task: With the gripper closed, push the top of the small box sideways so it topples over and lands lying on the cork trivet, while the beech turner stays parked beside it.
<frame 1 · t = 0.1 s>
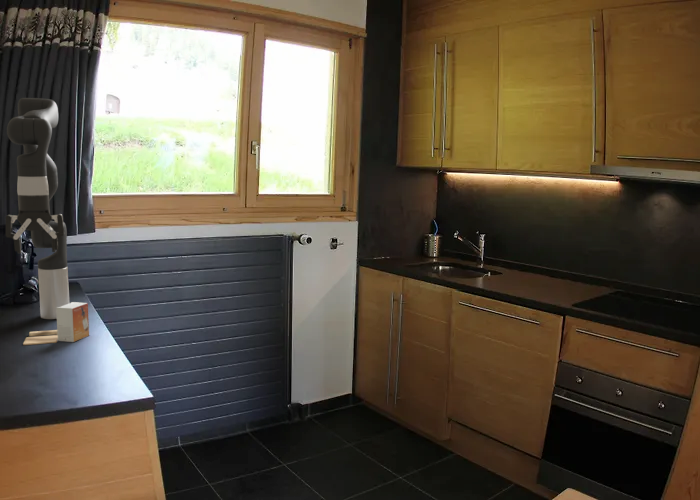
hand: (36, 252, 171), 29 cm above the counter, fingers open, 8 cm apart
small box: (73, 339, 192), on the counter
turner: (52, 333, 196), on the counter
trivet: (41, 340, 189), on the counter
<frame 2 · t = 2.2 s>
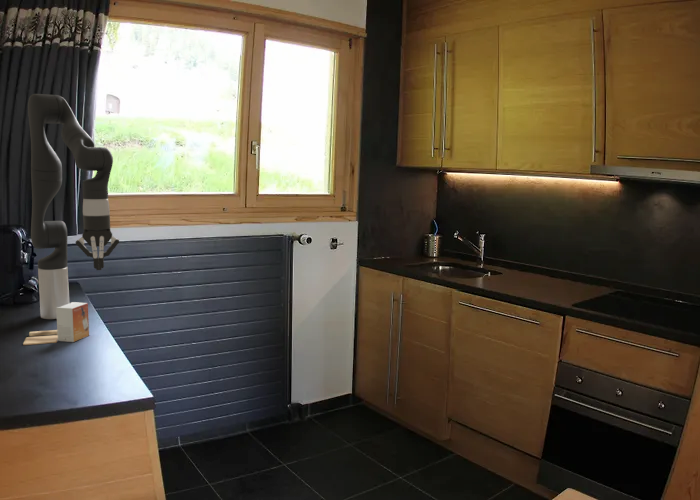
hand: (98, 269, 192), 21 cm above the counter, fingers closed
nothing on the counter moved.
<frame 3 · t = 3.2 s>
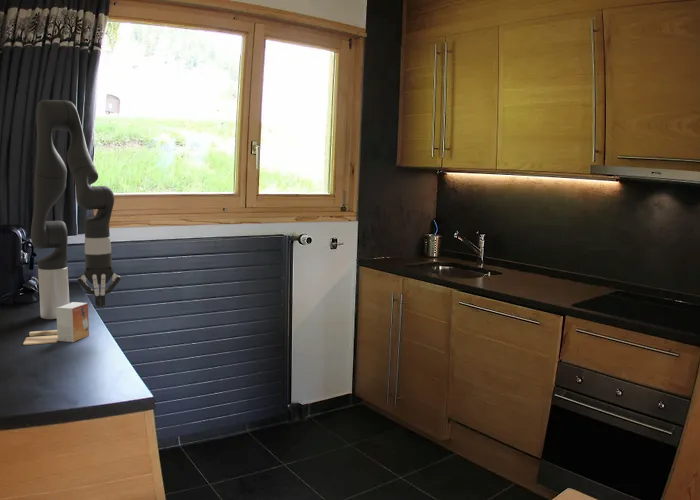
hand: (100, 306, 193), 9 cm above the counter, fingers closed
nothing on the counter moved.
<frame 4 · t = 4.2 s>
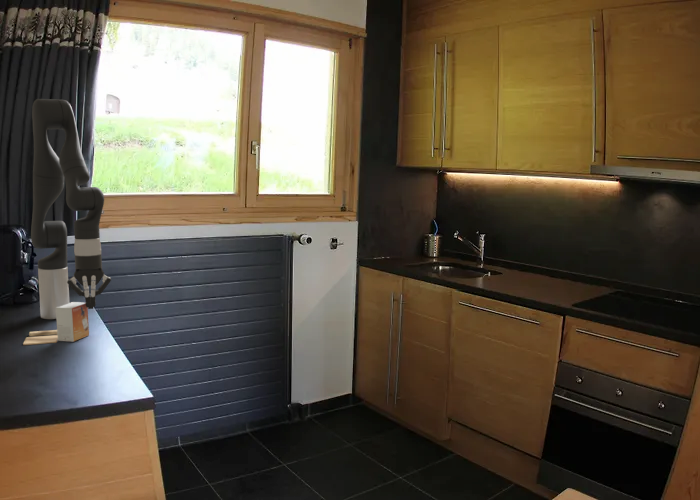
hand: (90, 308, 193), 9 cm above the counter, fingers closed
small box: (73, 338, 192), on the counter, touching gripper
everything else where it was.
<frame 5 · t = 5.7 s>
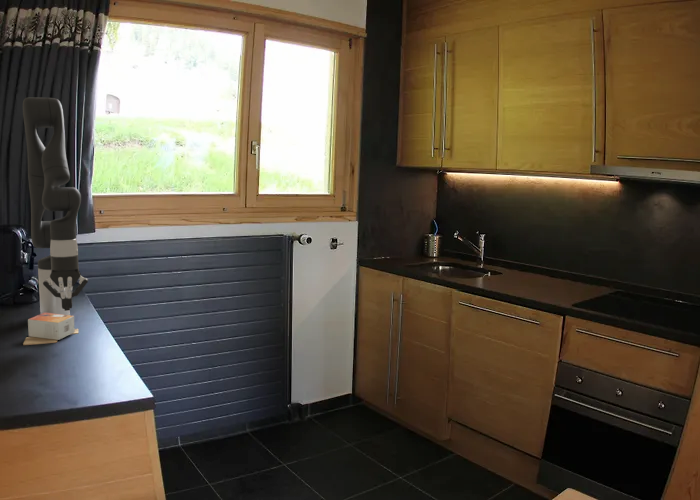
hand: (67, 309, 190), 9 cm above the counter, fingers closed
small box: (67, 327, 192), point 3 cm above the counter, touching turner
turner: (52, 334, 196), on the counter, touching small box
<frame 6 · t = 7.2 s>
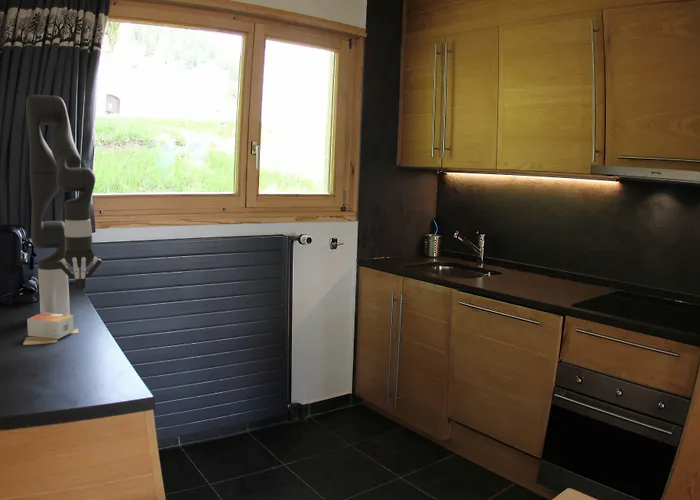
hand: (80, 290, 191), 15 cm above the counter, fingers closed
small box: (66, 326, 193), point 3 cm above the counter, touching trivet, turner
everything else where it was.
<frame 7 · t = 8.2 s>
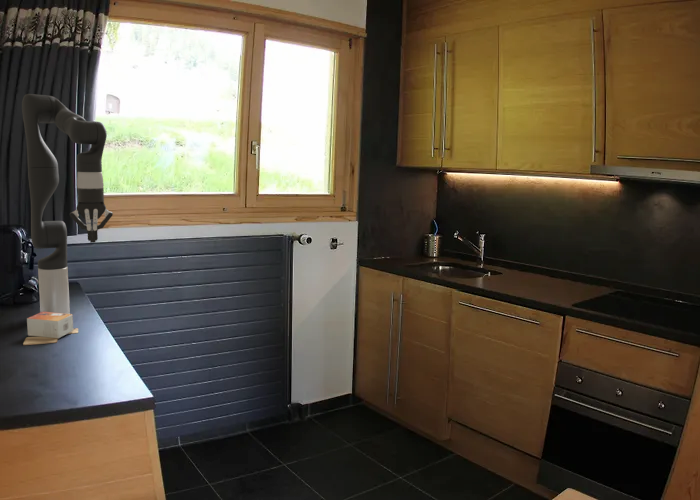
hand: (92, 242, 195), 29 cm above the counter, fingers closed
nothing on the counter moved.
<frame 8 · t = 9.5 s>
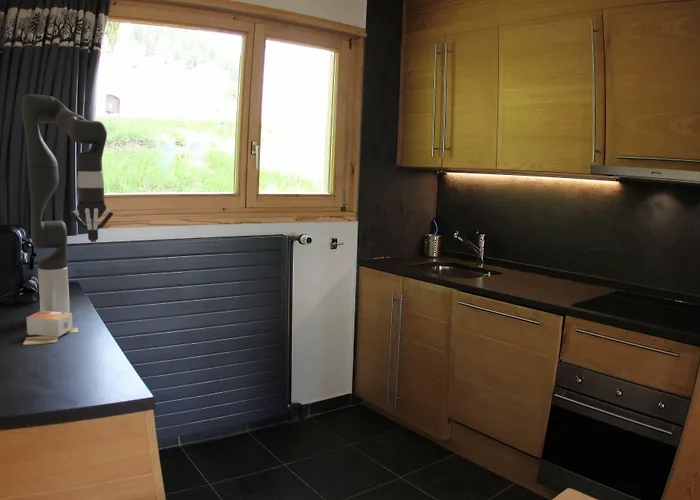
hand: (93, 241, 196), 29 cm above the counter, fingers closed
small box: (66, 324, 195), point 3 cm above the counter, touching turner
at the end: small box tilted 88°; small box inside the target area (5.7 cm from its centre), point 3.3 cm above the counter; turner moved 1.3 cm from its start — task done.
